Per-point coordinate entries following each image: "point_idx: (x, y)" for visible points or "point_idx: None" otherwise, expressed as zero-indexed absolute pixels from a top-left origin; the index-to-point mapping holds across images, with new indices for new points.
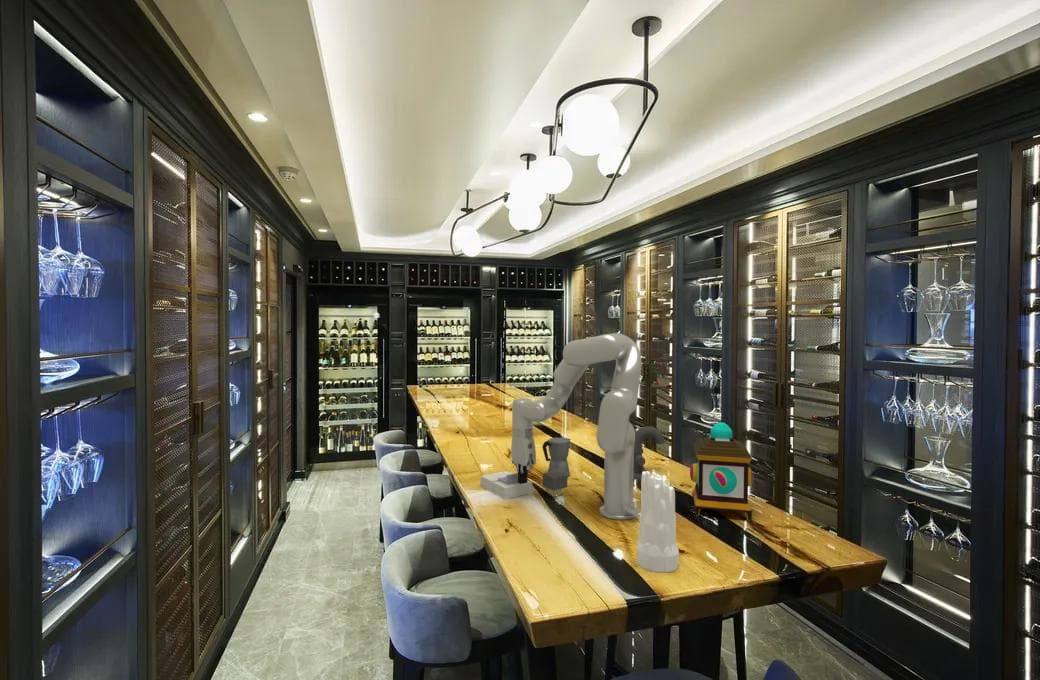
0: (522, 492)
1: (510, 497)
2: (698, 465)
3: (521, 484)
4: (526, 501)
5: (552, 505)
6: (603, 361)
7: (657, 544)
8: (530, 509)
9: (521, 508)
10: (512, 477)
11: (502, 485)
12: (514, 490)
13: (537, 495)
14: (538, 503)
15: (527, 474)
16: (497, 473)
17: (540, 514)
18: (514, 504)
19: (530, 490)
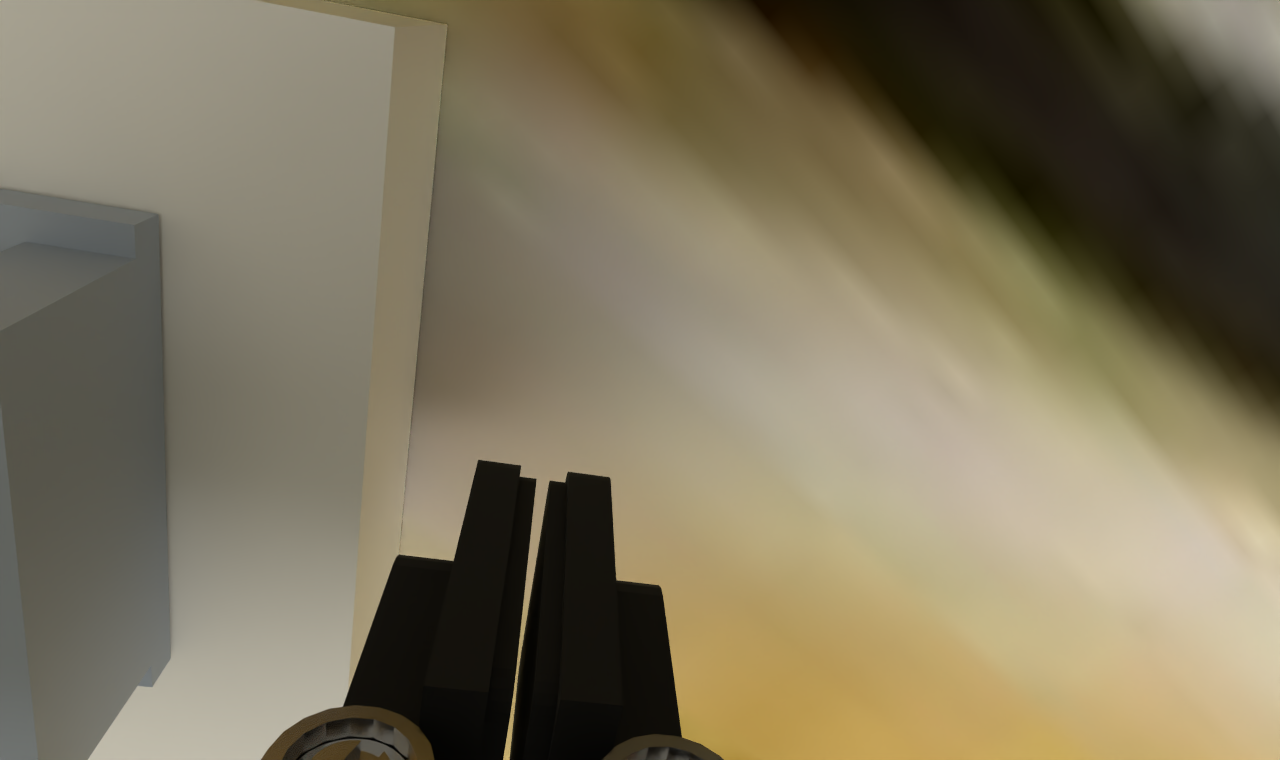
0: (411, 311)
1: (398, 548)
2: None
3: (357, 404)
4: (736, 465)
5: (1237, 280)
6: None
7: None
8: (1022, 641)
9: (889, 700)
10: (74, 639)
11: (143, 742)
12: (378, 537)
13: (650, 63)
14: (968, 386)
15: (614, 622)
16: None
17: (1254, 664)
18: (690, 674)
19: (429, 86)
